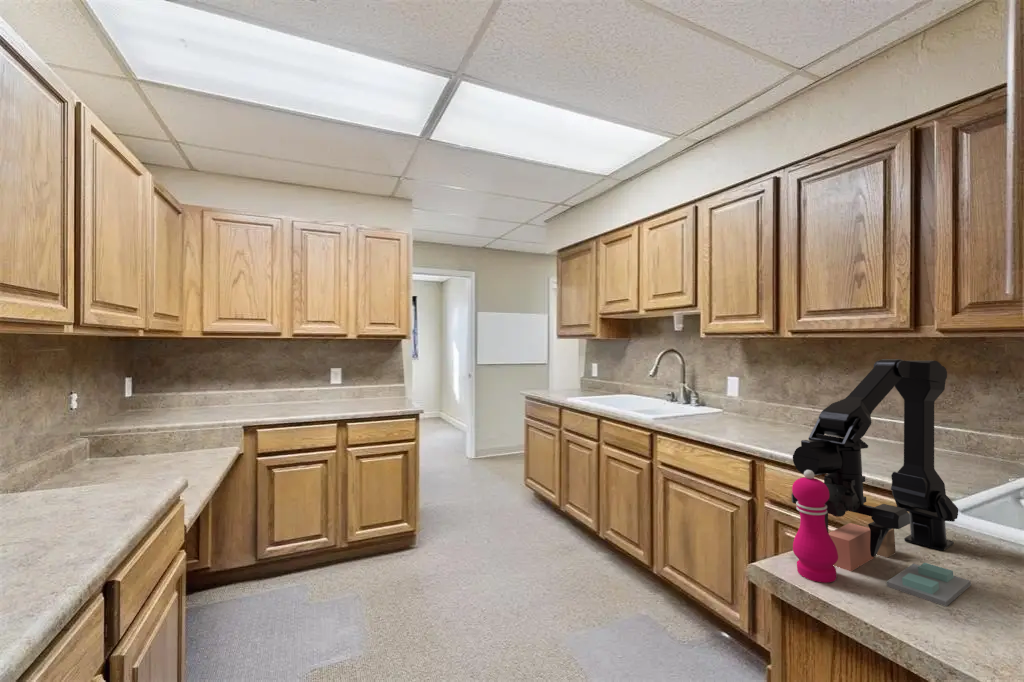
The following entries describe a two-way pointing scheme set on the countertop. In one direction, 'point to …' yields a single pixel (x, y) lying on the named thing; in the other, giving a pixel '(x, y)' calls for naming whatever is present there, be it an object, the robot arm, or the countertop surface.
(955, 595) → the build plate
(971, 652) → the countertop surface
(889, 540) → the block
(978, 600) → the countertop surface
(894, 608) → the countertop surface
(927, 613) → the countertop surface
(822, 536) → the pepper mill
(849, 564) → the bar
